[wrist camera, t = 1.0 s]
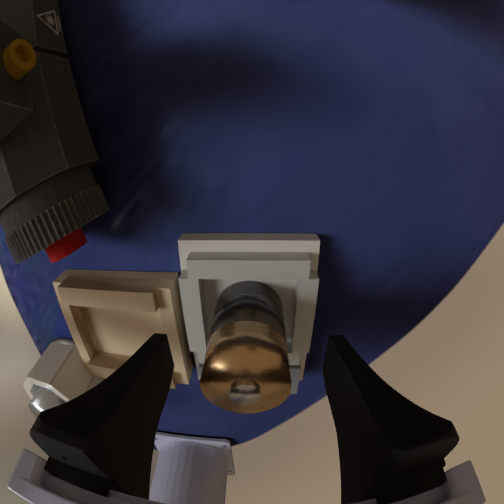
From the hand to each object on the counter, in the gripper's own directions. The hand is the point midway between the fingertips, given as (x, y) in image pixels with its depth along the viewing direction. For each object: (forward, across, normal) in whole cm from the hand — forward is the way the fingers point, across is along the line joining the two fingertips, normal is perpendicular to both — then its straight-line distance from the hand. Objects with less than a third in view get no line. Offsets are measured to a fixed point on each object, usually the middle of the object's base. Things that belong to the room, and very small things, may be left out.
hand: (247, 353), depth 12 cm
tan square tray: (+5, +8, +2) cm, 9 cm away
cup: (+5, +14, +8) cm, 17 cm away
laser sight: (+5, +12, -15) cm, 20 cm away
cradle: (+5, 0, 0) cm, 5 cm away
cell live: (+4, 0, 0) cm, 4 cm away
